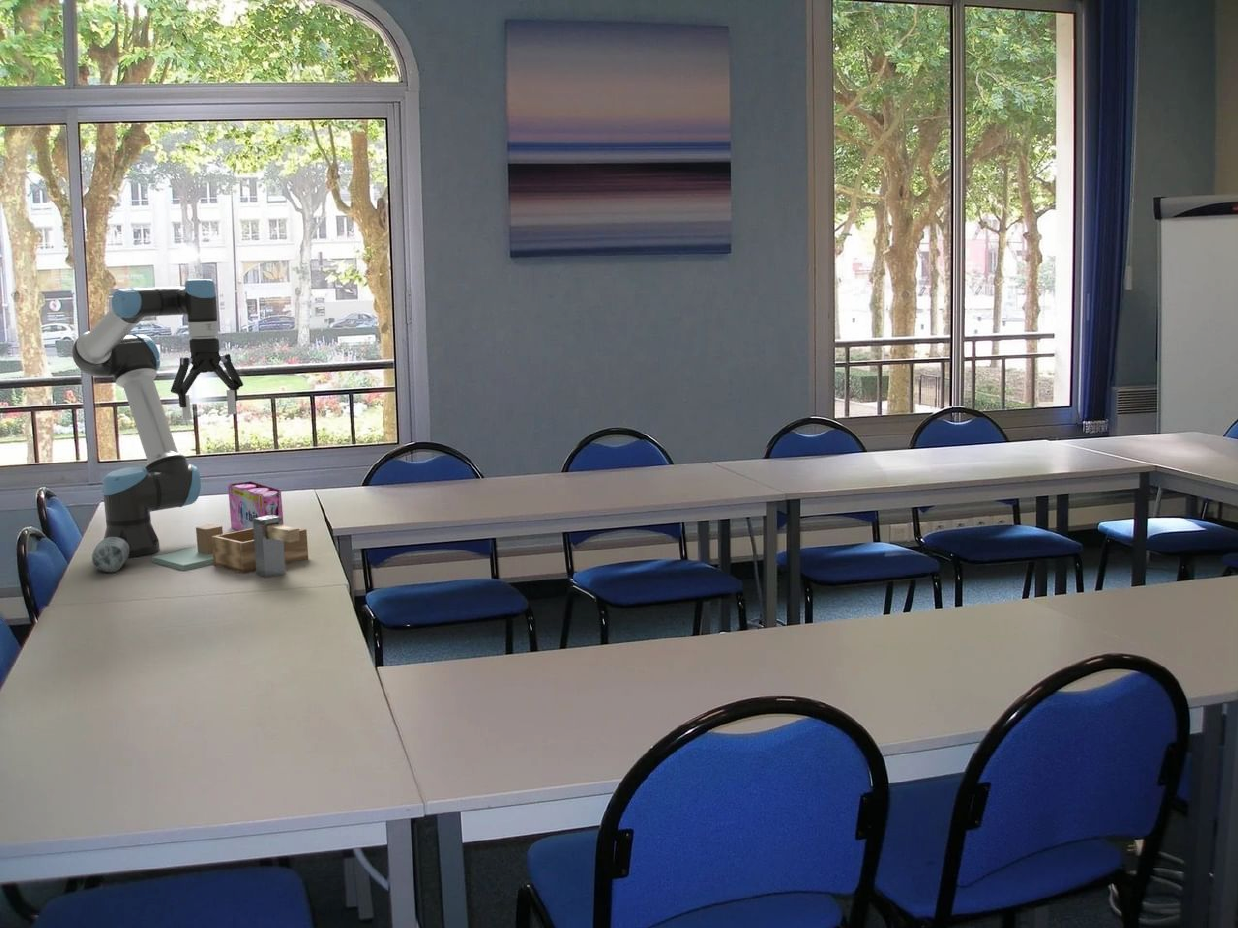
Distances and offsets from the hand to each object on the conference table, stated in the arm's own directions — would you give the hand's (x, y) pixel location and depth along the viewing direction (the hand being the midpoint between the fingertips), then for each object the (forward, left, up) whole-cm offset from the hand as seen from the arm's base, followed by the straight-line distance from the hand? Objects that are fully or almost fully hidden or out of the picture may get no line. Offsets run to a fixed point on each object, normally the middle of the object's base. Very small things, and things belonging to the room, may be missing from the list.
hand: (209, 416), depth 333 cm
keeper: (+29, -3, -39) cm, 48 cm away
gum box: (-20, +25, -39) cm, 50 cm away
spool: (-12, -25, -39) cm, 48 cm away
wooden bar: (+33, -3, -28) cm, 43 cm away
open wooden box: (+15, +3, -39) cm, 42 cm away
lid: (-2, -4, -39) cm, 40 cm away
